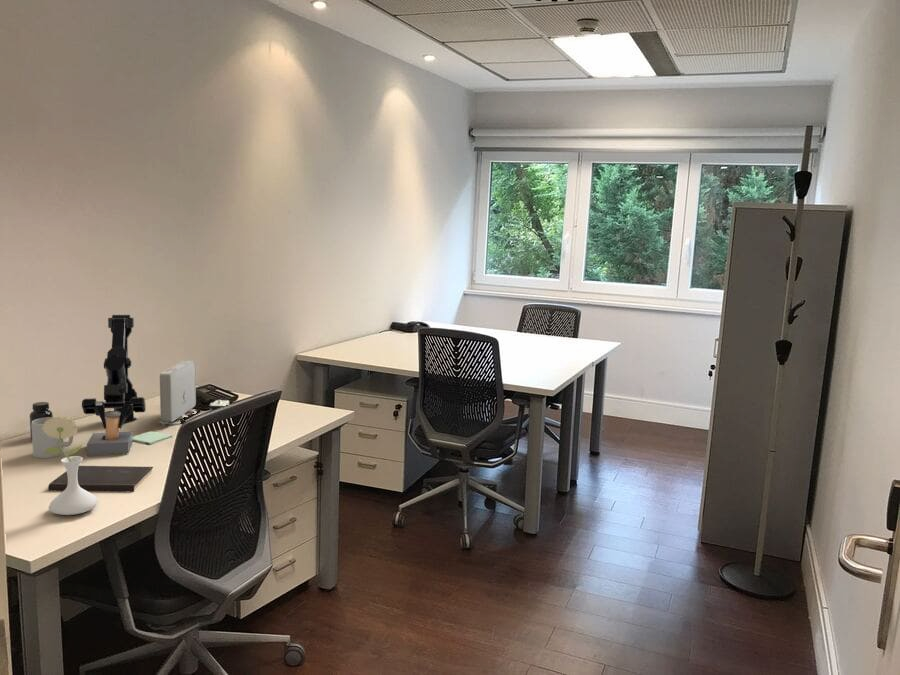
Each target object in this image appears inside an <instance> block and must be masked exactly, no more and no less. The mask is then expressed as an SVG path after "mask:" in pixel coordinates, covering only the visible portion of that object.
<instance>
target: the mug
mask: <svg viewBox="0 0 900 675" xmlns="http://www.w3.org/2000/svg"><path fill="white" fill-rule="evenodd" d="M54 417H55V418H57V417H58V416H54ZM48 419H49V420H50V419H52V417H46V418H39V419H36V420H33V421H32V439H31V440H32V441H31V443H32V456H33V457H34V458H36V457H37V459H51V458H56V457H59V456H62V455H63V454H64V453H63V452H62V451H60V452H59V453H58V454H50V453H44V452H45V451H46V450H47V449H48V448H50V447H56V448H60V446H59V439H57V437H55V438H52V437H49V436H47V434H46V433H44V430H43V429H42V427H44V426H43V425H44V424H45V421H47V420H48ZM73 440H74V436H71V437H70V438H68V441H64V439H61V448H62V449H63V451H64V448H66V447H70V446H71V445H72V444H73ZM64 452H65V451H64Z"/></svg>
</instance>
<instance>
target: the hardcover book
mask: <svg viewBox="0 0 900 675" xmlns="http://www.w3.org/2000/svg"><path fill="white" fill-rule="evenodd" d="M153 468H154V467H153V466H129V465H126V466H124V465H123V466H121V465H112V466H111V465H79V467H78V474H77V479H78V484H79V486H80V487H81V488H82V489H84V490H86V491H88V492H122V491H123V492H126V491H130V492H132V493H133V492H135V490H136V489H137V488H138V487H139V486H140V485H141V484H142V483H143V482H144V481H146V479H147V478H149V476H150V475H151V474H152V473H153ZM151 472H152V473H151ZM149 474H150V475H149ZM67 485H68V476H67V471H65V472H63V473H62V474H60V475H59V476H58V477H57V478H55V479H54V480H53V481H51V482H50V483H49V484H48V486H47V488H48V492H50V491H51V490H52V492H55V491H54V490H56V491H57V492H59V491H60V492H63V491H64V490H65V489H66V488H67ZM130 492H129V493H130ZM126 493H127V492H126Z"/></svg>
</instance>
